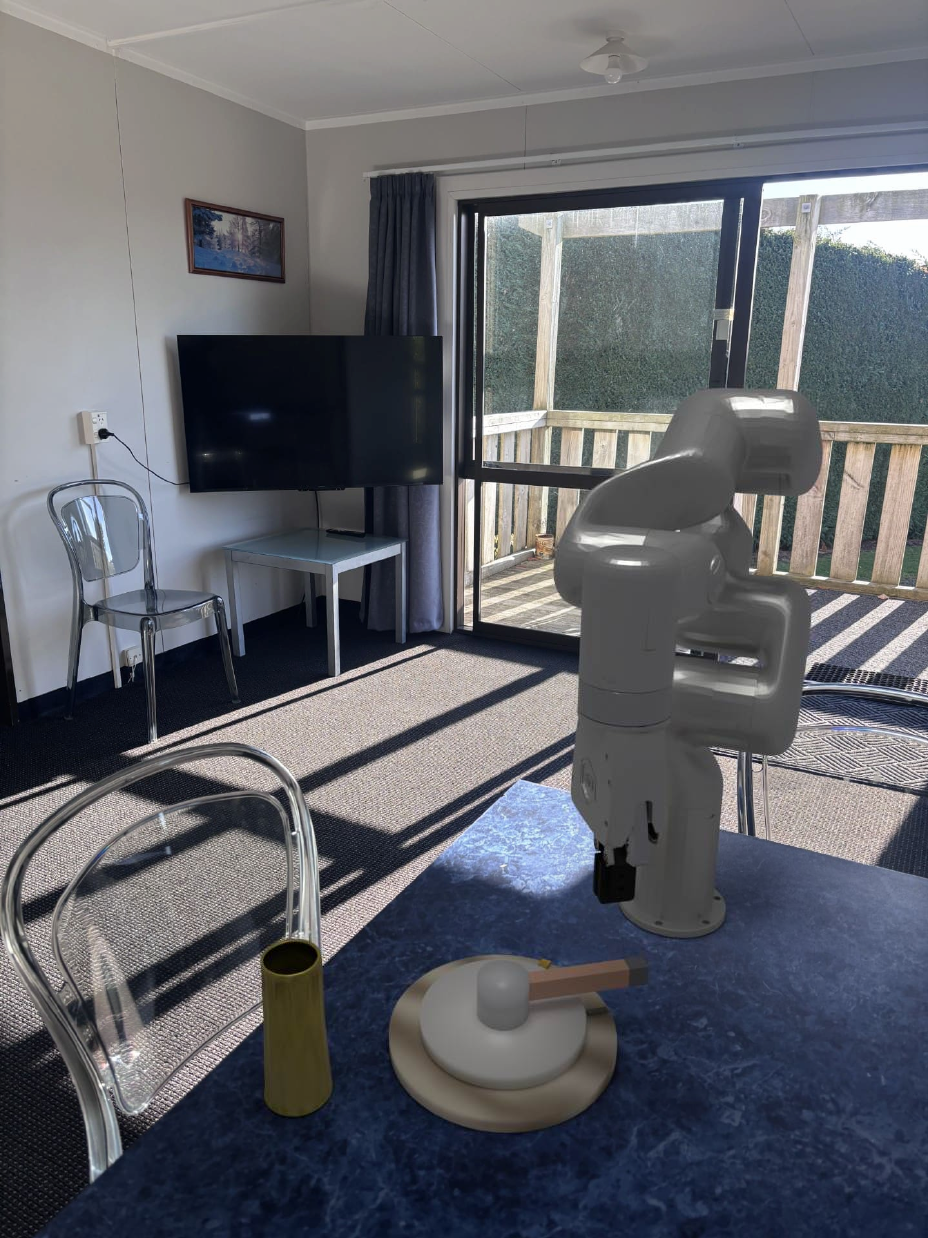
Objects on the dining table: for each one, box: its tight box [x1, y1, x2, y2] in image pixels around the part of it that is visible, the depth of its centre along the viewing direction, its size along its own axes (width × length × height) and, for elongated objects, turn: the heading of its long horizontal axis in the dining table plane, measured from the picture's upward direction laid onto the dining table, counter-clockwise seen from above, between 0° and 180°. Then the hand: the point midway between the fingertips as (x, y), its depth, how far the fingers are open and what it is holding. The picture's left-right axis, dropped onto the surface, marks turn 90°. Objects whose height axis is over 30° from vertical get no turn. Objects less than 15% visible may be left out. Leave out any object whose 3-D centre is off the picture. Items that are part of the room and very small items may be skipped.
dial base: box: [388, 954, 618, 1134], centre depth 88 cm, size 22×22×2 cm
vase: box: [259, 938, 334, 1118], centre depth 80 cm, size 6×6×14 cm
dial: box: [420, 955, 650, 1089], centre depth 87 cm, size 22×16×6 cm
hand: (613, 896), depth 78 cm, fingers closed
